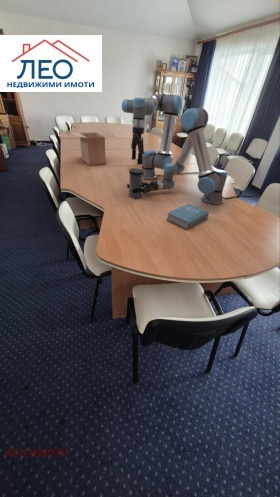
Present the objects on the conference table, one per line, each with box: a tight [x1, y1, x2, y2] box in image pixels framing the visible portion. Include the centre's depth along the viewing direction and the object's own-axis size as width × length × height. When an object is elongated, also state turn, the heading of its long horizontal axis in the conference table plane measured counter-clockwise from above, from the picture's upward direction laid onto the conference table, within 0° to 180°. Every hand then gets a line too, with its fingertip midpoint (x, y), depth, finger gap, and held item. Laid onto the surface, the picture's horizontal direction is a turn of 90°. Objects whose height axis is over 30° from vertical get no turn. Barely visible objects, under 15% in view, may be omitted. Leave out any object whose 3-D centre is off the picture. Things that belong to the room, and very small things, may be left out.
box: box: [70, 129, 114, 166], centre depth 229 cm, size 44×36×27 cm
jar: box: [128, 173, 143, 199], centre depth 164 cm, size 9×9×19 cm
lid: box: [128, 167, 143, 175], centre depth 159 cm, size 10×10×2 cm
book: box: [166, 203, 209, 230], centre depth 143 cm, size 23×16×5 cm
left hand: (136, 161), depth 155 cm, fingers open, 11 cm apart
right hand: (129, 188), depth 164 cm, fingers closed on jar, 9 cm apart
